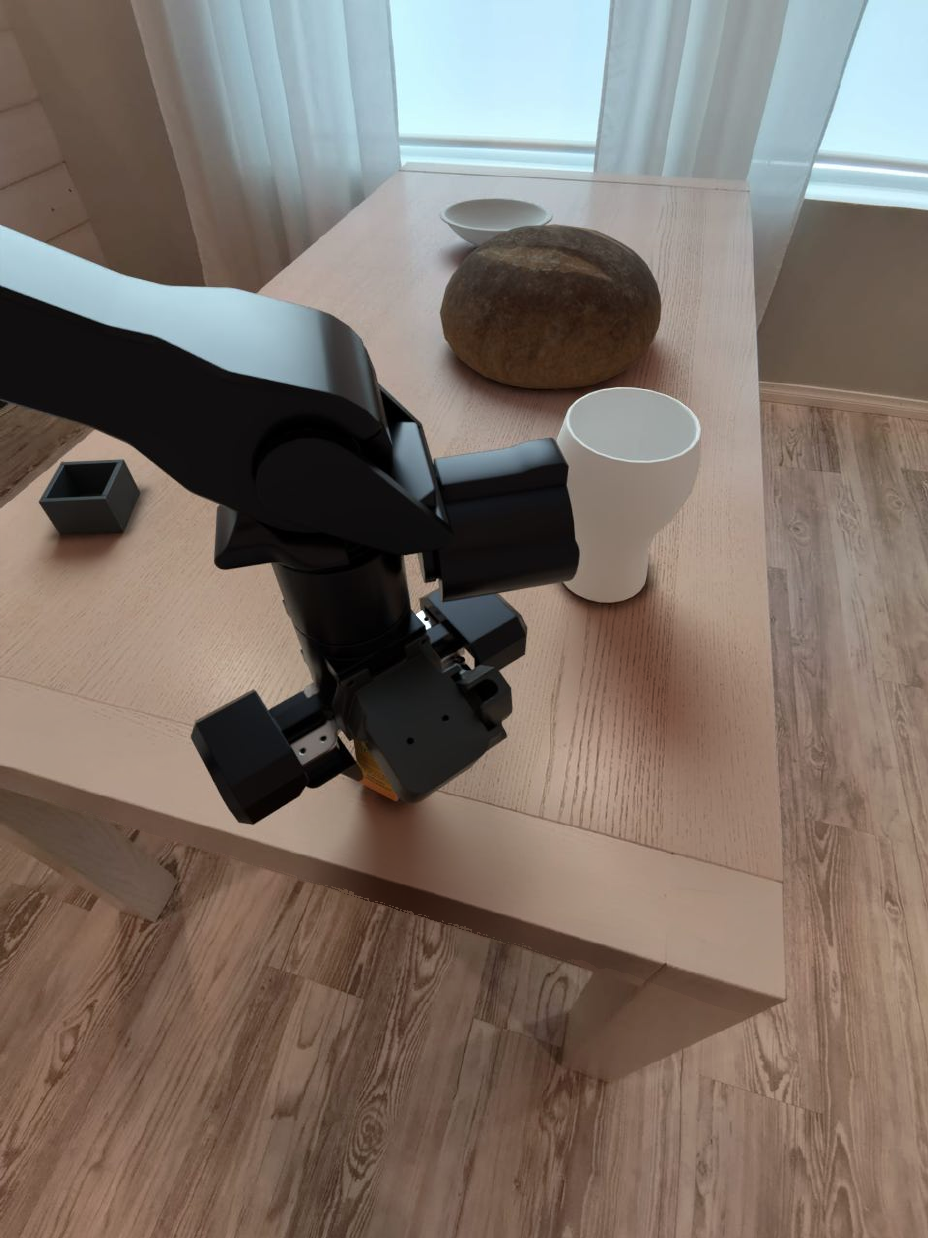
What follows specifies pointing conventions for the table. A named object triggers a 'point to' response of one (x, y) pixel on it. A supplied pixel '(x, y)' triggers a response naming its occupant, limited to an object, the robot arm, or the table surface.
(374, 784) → the supplement box
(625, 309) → the bread
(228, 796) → the robot arm
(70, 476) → the trash bin
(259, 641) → the table surface
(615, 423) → the cup
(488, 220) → the dish
